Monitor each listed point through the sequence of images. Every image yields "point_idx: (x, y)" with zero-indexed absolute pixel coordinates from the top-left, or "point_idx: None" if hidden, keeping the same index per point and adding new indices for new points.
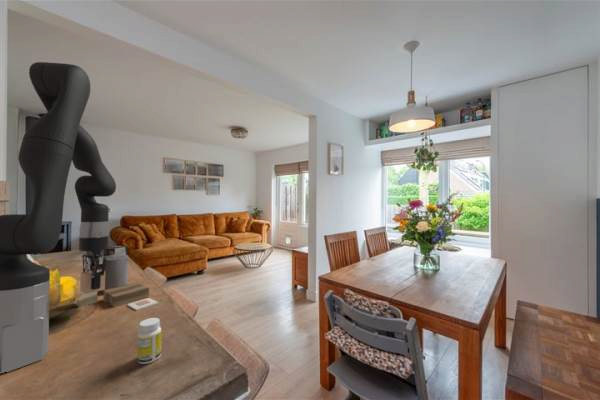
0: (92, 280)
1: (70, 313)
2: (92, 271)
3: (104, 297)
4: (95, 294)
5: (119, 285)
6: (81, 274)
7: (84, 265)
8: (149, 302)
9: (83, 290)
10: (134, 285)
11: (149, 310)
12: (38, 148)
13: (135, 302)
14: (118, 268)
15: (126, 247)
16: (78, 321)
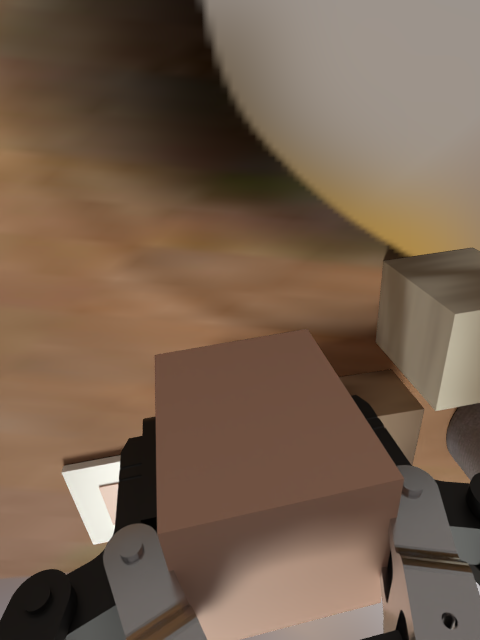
0: (142, 497)
1: (316, 212)
2: (126, 628)
3: (381, 384)
4: (403, 366)
5: (470, 465)
6: (360, 463)
7: (457, 614)
8: (114, 521)
9: (215, 358)
10: None
11: (17, 505)
12: None
13: None
14: None
15: None
16: (117, 234)
